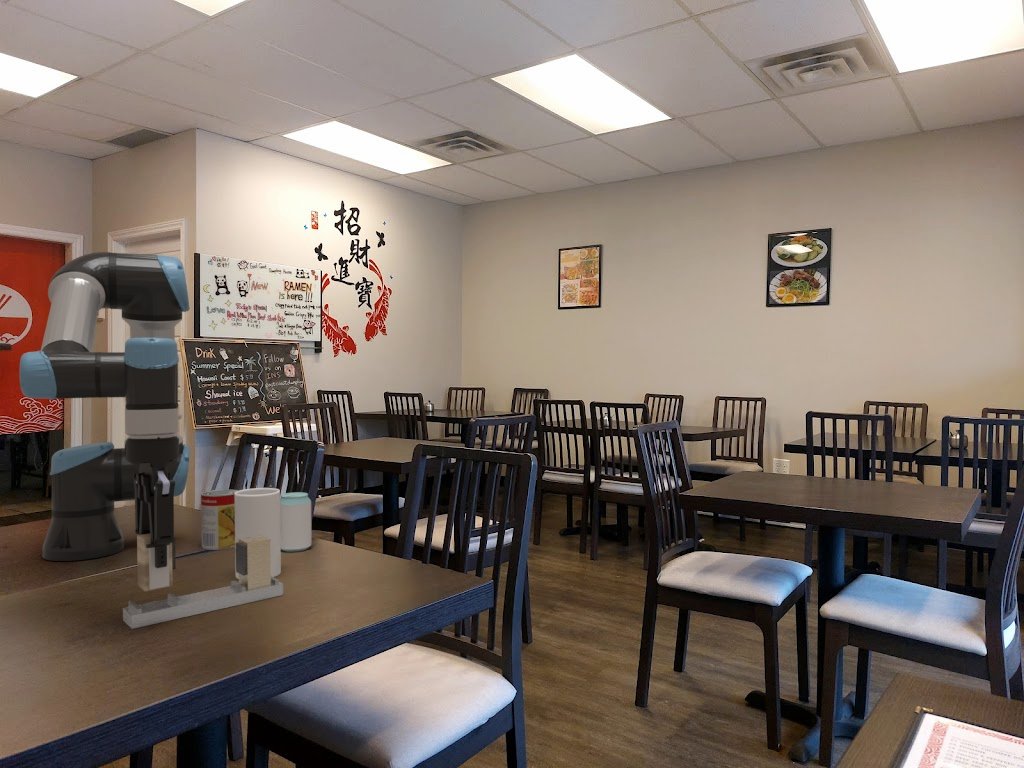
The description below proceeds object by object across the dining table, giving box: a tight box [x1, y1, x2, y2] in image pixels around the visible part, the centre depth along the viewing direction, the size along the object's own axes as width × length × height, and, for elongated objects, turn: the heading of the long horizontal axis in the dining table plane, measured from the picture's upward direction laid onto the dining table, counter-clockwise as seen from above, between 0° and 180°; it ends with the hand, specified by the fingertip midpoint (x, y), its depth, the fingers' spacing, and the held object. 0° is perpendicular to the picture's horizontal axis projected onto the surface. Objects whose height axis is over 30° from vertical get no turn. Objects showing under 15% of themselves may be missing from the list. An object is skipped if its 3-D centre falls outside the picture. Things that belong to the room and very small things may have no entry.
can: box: [280, 491, 313, 553], centre depth 157 cm, size 7×7×12 cm
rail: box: [122, 535, 284, 630], centre depth 118 cm, size 5×24×10 cm, turn 132°
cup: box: [234, 487, 282, 580], centre depth 137 cm, size 8×8×16 cm
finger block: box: [136, 534, 177, 592], centre depth 113 cm, size 5×4×8 cm
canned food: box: [200, 488, 239, 551], centre depth 160 cm, size 8×8×12 cm
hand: (154, 583), depth 112 cm, fingers closed on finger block, 4 cm apart
